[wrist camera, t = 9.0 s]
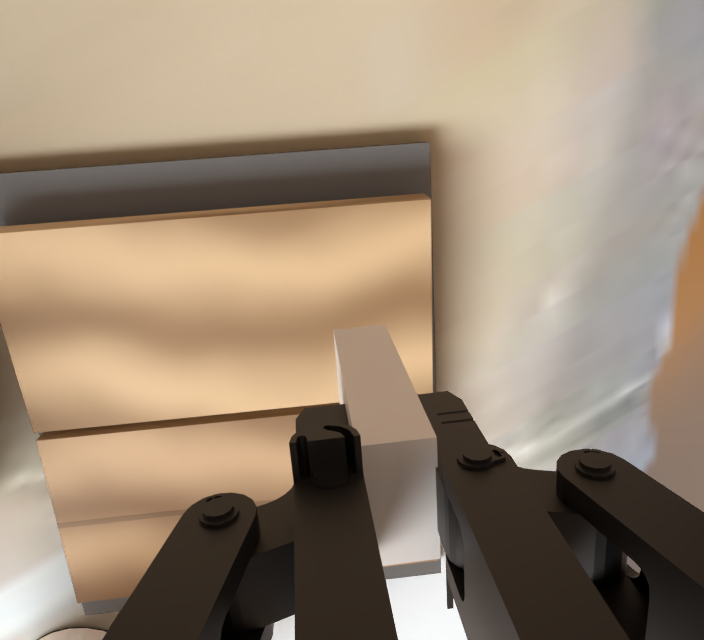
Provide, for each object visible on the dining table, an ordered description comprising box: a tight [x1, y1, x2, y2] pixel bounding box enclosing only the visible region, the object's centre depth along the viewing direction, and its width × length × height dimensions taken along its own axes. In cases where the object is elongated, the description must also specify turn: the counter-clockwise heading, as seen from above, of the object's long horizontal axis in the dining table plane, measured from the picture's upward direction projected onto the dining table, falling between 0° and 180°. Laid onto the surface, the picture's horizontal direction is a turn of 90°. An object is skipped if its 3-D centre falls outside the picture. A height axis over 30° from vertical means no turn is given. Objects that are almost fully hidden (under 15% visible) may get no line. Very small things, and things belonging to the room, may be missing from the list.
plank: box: [0, 193, 433, 433], centre depth 29 cm, size 10×20×2 cm, turn 94°
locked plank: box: [36, 402, 437, 603], centre depth 33 cm, size 10×20×2 cm, turn 94°
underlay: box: [0, 142, 441, 615], centre depth 33 cm, size 25×21×1 cm
